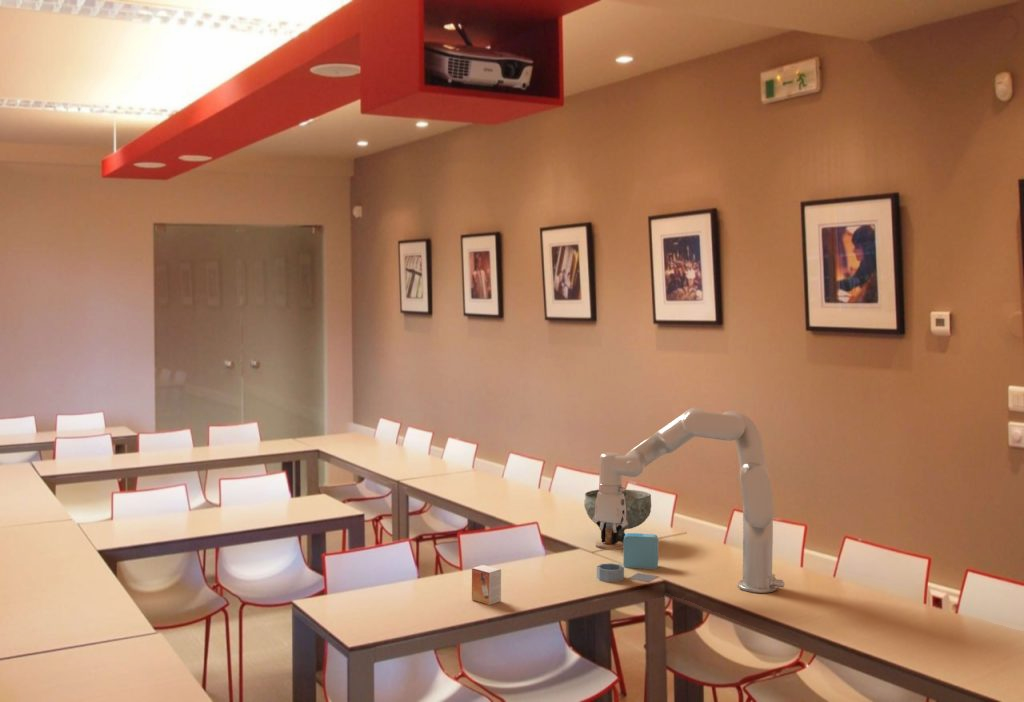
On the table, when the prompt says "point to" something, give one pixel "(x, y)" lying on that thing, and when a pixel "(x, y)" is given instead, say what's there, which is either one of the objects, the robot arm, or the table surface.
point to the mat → (643, 577)
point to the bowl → (610, 572)
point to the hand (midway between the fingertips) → (609, 541)
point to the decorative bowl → (635, 508)
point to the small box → (486, 584)
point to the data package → (640, 551)
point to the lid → (609, 542)
